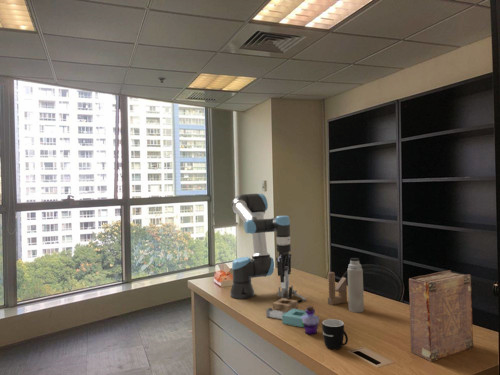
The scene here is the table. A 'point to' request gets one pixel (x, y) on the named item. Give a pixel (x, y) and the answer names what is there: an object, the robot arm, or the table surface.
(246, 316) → the table surface
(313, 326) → the potion bottle
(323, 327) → the mug
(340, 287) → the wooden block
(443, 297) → the book
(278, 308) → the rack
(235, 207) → the robot arm
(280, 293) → the bike brake
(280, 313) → the pale gray faceted bar
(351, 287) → the thermos bottle
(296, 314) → the socket block
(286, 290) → the metal flashlight
